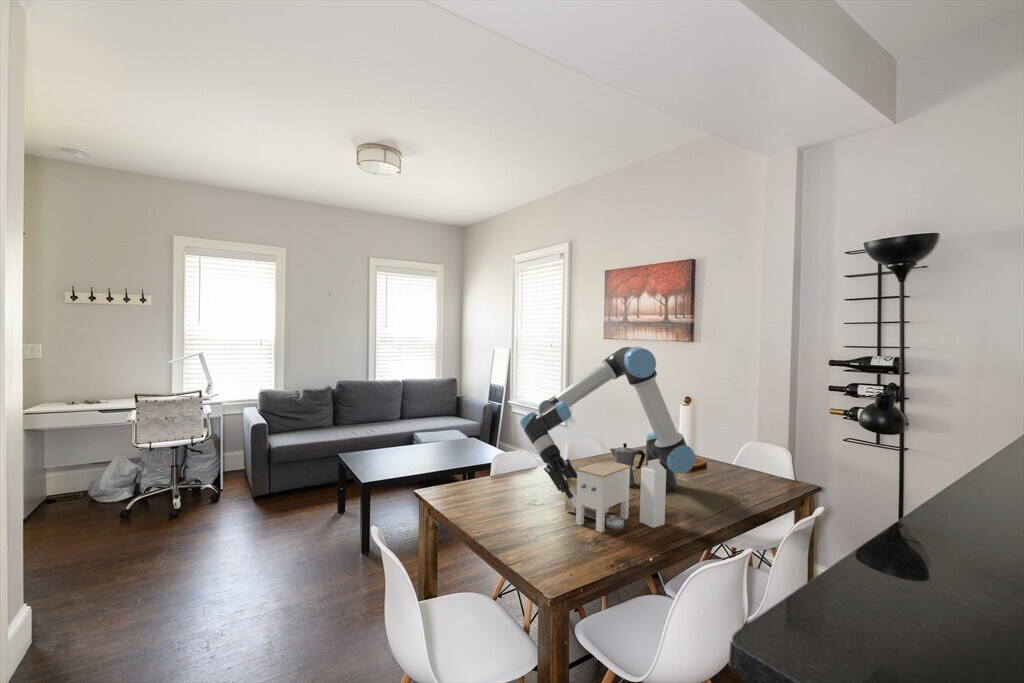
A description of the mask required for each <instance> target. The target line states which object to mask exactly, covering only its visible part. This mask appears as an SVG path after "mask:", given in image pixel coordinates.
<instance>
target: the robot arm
mask: <svg viewBox="0 0 1024 683" xmlns="http://www.w3.org/2000/svg"><path fill="white" fill-rule="evenodd" d="M656 367H657V360H656V357H655V356H654V354H653V353H652V352H651V351H650V350H648V349H647V348H644V347H640V346H636V347H630V346H625V347H621V348H619V349H618V350H615V352H613V353H612V354H610V355H609V356H608V357H606V358H605V359H603V360H602V361H601V364H600V365H599V366H597V367H595V368H594V369H593V370H591V371H589V372H587V374H585V375H584V376H582V377H581V378H579V379H578V380H575V382H572V384H570V385H569V386H567V387H566V388H564V389H562V390H561V391H560V392H558V393H556V394H555V395H553V396H552V397H550V398H549V399H545V400H542V401H541V402H540V403H539V405H538V409H537V410H538V414H537V413H536V412H534V411H532V412H531V411H530V412H529V413H527V414H525V415H524V416H523V417H521V419H520V426H521V427H522V430H523V431H524V433H525V434H526V436H527V437H528V439H529V441H530V442H531V444H532V445H533V447H534V449H535V450H536V452H537V453H538V454H539V458H541V460H542V463H544V464H546V466H545V467H543V470H544V471H545V473H546V474H548V476H549V478H550V480H552V482H553V484H554V485H555V488H556V489H557V490H558V491H559V492H561V493H562V494H563V493H565V496H566V495H567V496H568V498H569V499H570V500H571V502H572V504H573V505H574V507H575V508H576V497H577V496H576V495H575V493H574V492H573V490H572V488H571V487H570V488H569V486H568V484H567V482H566V479H569V478H572V477H573V478H576V479H577V471H576V470H575V468H574V467H573V466H572V463H571V461H570V459H569V458H567V459H564V458H563V457H562V456H561V451H560V448H559V447H558V445H557V444H555V443H556V442H555V441H554V439H553V438H552V436H551V435H550V431H551V430H552V429H554V428H556V427H558V426H559V425H561V424H563V423H564V422H566V421H567V420H569V419H570V418H571V417H572V412H571V410H570V407H572V406H574V405H575V404H577V403H578V402H580V401H581V400H582V399H584V398H586V397H587V396H589V395H590V394H591V393H593V392H595V391H596V390H597V389H599V388H600V387H602V386H604V385H605V384H606V383H608V382H609V381H611V380H617V379H618V378H620V377H623V376H625V377H626V379H627V382H628V384H629V386H632V387H634V389H635V390H636V393H637V395H638V398H639V400H640V402H641V405H642V407H643V410H644V412H645V415H646V417H647V419H648V423H649V425H650V426H651V428H652V431H653V432H649V433H648V434H647V436H646V440H645V441H646V443H645V444H646V445H645V446H646V447H645V449H646V450H645V451H646V452H645V466H647V465H648V461H650V460H656V459H660V464H661V465H662V466H663V467H664V468H665V469H666V492H670V491H672V490H673V491H676V490H677V489H678V480H677V478H676V474H685V473H688V472H689V471H691V469H692V468H693V467H694V465H695V462H696V453H695V452H694V450H693V448H691V447H690V446H689V445H687V443H686V440H685V438H684V435H683V434H682V433H680V432H678V431H677V429H676V426H675V424H674V421H673V419H672V417H671V414H670V411H669V409H668V408H667V405H666V402H665V399H664V398H663V395H662V393H661V390H660V388H659V386H658V384H657V380H656V379H657V378H656V377H657V375H658V373H657V371H656Z"/></svg>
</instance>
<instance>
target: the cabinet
mask: <svg viewBox="0 0 1024 683" xmlns="http://www.w3.org/2000/svg"><path fill="white" fill-rule="evenodd" d="M630 468H631V466H629V465H625V464H621V463H616V462H615V461H611V460H606V459H603V460H601V461H598V462H594V463H592V464H591V463H590V464H588V465H585V466H581V467H578V468H577V469H576V473H577V497H576V513H575V524H576V525H579V526H582V525H584V524H585V516H584V507H586V508H589V509H592V510H595V511H596V520H595V531H596V532H599V533H602V532H605V525H606V522H605V514H607V513H609V508H611V507H613V506H615V505H618V504H620V514H619V515H620V517H622V518H623V519H624V521H625V520H627V519H629V511H630V510H629V507H630V505H629V504H630V502H629V500H630V487H629V477H630Z"/></svg>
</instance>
